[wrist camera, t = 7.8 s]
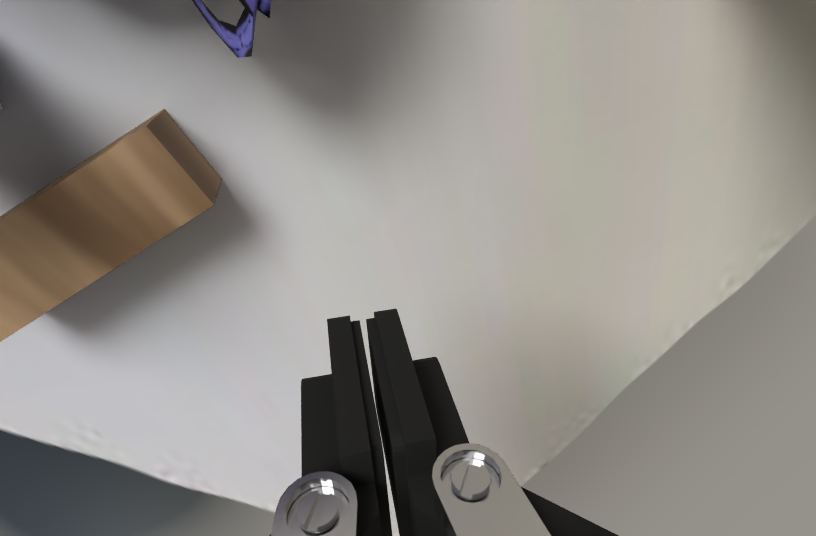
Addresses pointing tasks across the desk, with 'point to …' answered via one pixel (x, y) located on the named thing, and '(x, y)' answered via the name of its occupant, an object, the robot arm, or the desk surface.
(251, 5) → the decorative ornament
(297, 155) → the desk surface
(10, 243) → the walnut block
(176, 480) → the desk surface
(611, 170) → the desk surface
